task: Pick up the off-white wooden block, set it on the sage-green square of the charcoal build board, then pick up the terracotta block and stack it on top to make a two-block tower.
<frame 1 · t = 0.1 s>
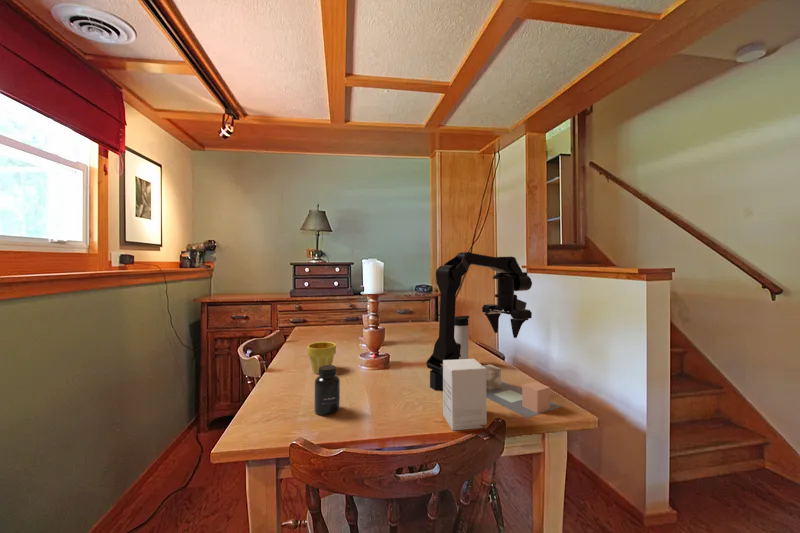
hand: (505, 335, 121), 15 cm above the table, tool pointing down, fingers open, 9 cm apart
terracotta block: (535, 407, 93), point 1 cm above the table, touching build board
supplement box: (463, 422, 87), on the table
supplement bottle: (327, 411, 94), on the table
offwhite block: (489, 386, 109), point 1 cm above the table, touching build board
build board: (510, 399, 101), on the table
travel mug: (460, 368, 131), on the table
plant pot: (321, 371, 127), on the table
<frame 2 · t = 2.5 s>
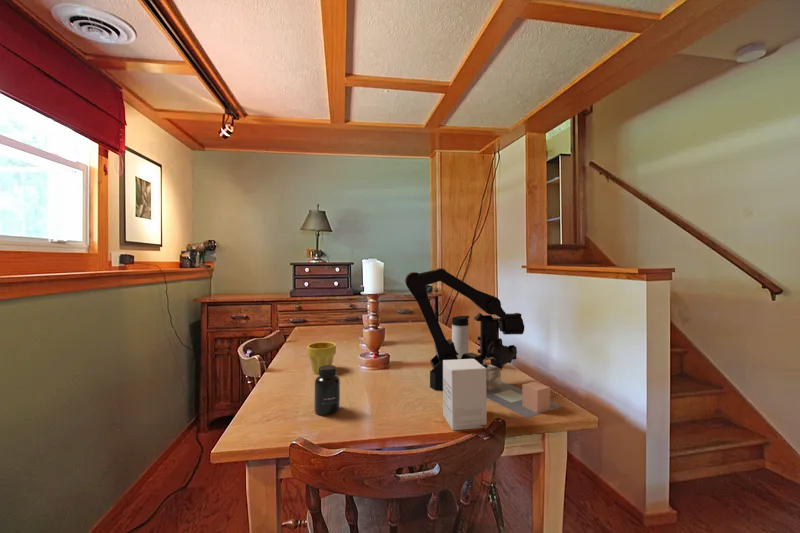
hand: (489, 383, 109), 2 cm above the table, tool pointing down, fingers closed on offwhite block, 5 cm apart
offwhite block: (489, 386, 109), point 1 cm above the table, touching build board, gripper
everything else where it was.
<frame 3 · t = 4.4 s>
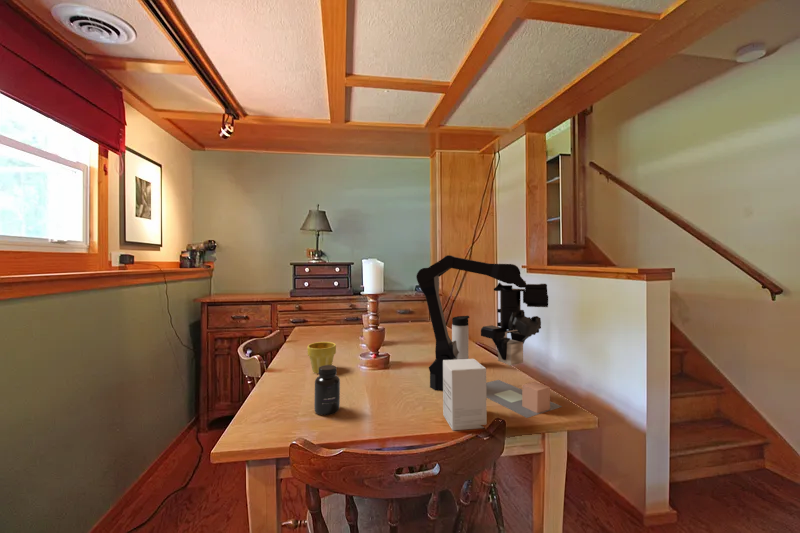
hand: (510, 358, 101), 12 cm above the table, tool pointing down, fingers closed on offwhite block, 5 cm apart
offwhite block: (510, 361, 101), point 11 cm above the table, touching gripper
everything else where it was.
when the fingers open (3 cm above the table, at t = 6.4 s): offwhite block drops 1 cm, resting on build board.
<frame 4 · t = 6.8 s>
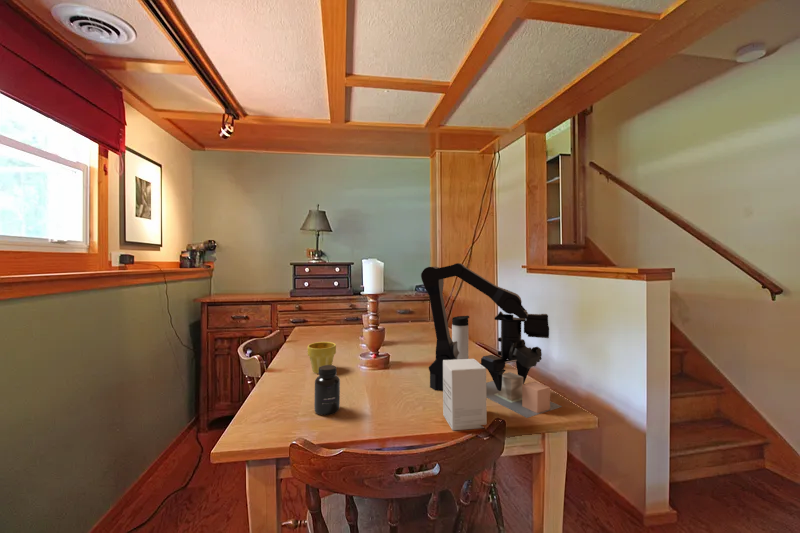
hand: (510, 387, 101), 3 cm above the table, tool pointing down, fingers open, 9 cm apart
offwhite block: (510, 395, 101), point 1 cm above the table, touching build board
everything else where it was.
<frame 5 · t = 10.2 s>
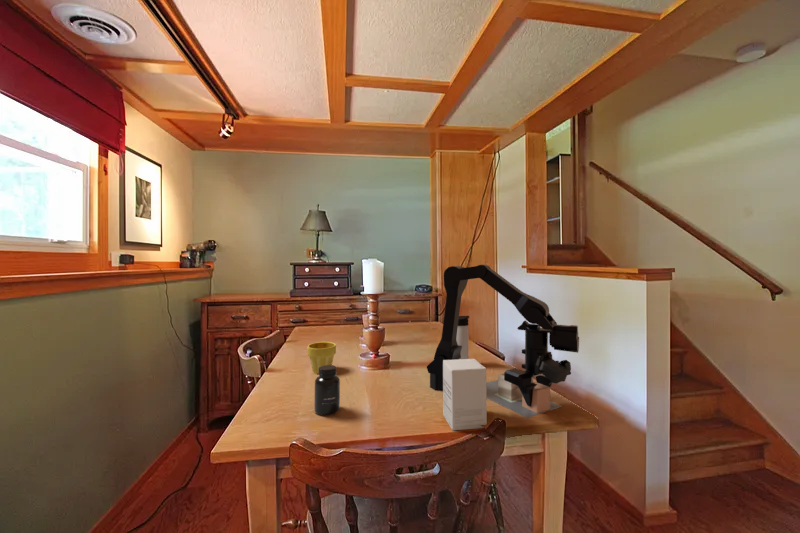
hand: (535, 403, 93), 2 cm above the table, tool pointing down, fingers closed on terracotta block, 5 cm apart
terracotta block: (535, 407, 93), point 1 cm above the table, touching build board, gripper
everything else where it was.
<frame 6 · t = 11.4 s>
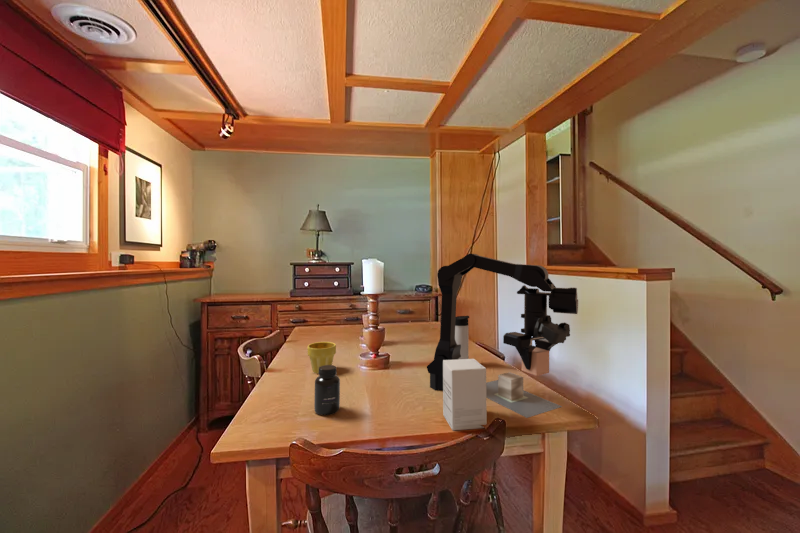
hand: (535, 367, 93), 12 cm above the table, tool pointing down, fingers closed on terracotta block, 5 cm apart
terracotta block: (535, 371, 93), point 11 cm above the table, touching gripper
everything else where it was.
when the fingers open (9 cm above the table, at t = 12.9 s): terracotta block drops 1 cm, resting on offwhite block.
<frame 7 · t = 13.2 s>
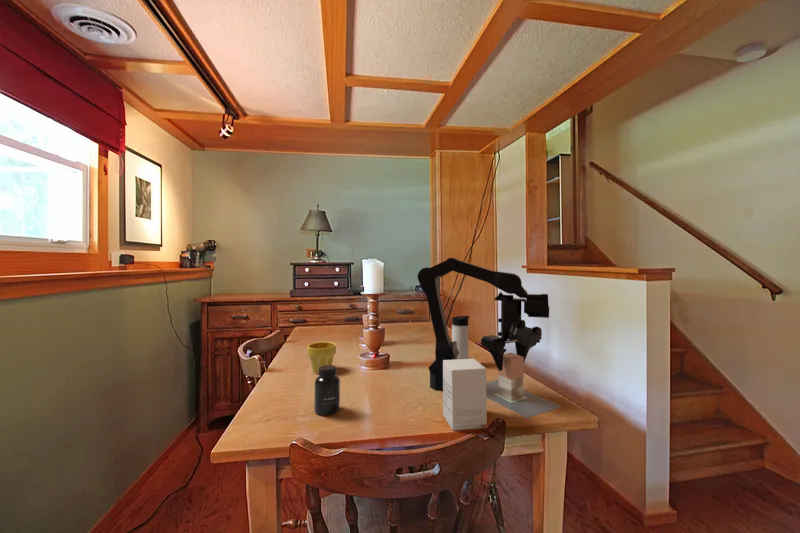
hand: (510, 368, 101), 9 cm above the table, tool pointing down, fingers open, 8 cm apart
terracotta block: (510, 375, 101), point 7 cm above the table, touching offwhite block
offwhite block: (510, 395, 101), point 1 cm above the table, touching build board, terracotta block
everything else where it was.
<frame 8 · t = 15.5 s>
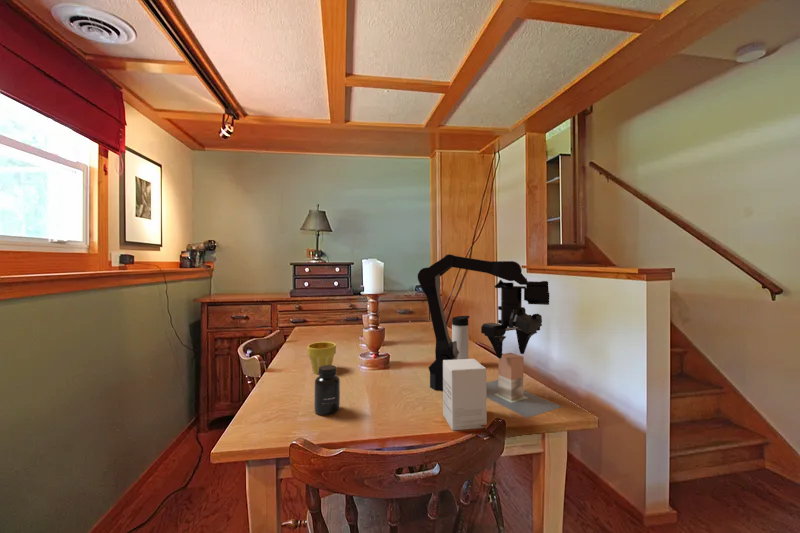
hand: (511, 355, 101), 13 cm above the table, tool pointing down, fingers open, 9 cm apart
nothing on the table moved.
at the end: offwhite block 0.1 cm off-centre on the build board, point 1.1 cm above the build board's base; terracotta block 0.0 cm off-centre on the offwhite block, point 6.0 cm above the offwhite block's base; terracotta block tilted 0° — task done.
